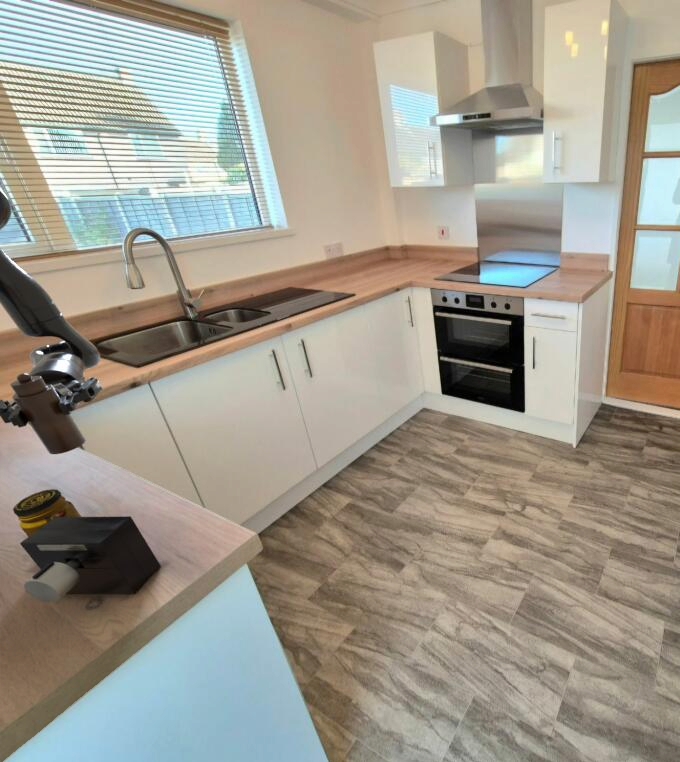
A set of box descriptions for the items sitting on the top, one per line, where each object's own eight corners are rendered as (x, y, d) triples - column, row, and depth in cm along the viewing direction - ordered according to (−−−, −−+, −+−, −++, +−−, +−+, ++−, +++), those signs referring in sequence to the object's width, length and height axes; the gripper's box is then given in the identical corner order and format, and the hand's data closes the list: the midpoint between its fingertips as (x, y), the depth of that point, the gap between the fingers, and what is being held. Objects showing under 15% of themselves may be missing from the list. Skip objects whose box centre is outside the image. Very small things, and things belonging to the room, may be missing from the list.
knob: (65, 602, 57) (46, 579, 55) (35, 602, 58) (15, 579, 56) (99, 571, 62) (82, 548, 60) (71, 571, 62) (53, 548, 60)
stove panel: (135, 597, 63) (99, 543, 58) (60, 596, 64) (18, 543, 59) (162, 568, 68) (130, 516, 63) (92, 568, 69) (55, 516, 64)
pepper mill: (41, 456, 73) (-10, 382, 66) (63, 440, 77) (17, 369, 70) (73, 452, 73) (25, 378, 67) (92, 436, 78) (50, 366, 71)
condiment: (36, 570, 69) (-9, 514, 63) (86, 530, 76) (50, 477, 71) (76, 572, 68) (34, 515, 63) (123, 531, 76) (89, 478, 70)
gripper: (-10, 376, 76) (-37, 411, 64) (95, 353, 84) (88, 381, 72) (14, 412, 80) (-7, 452, 68) (113, 387, 87) (109, 419, 75)
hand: (42, 415), depth 70 cm, fingers closed on pepper mill, 5 cm apart
